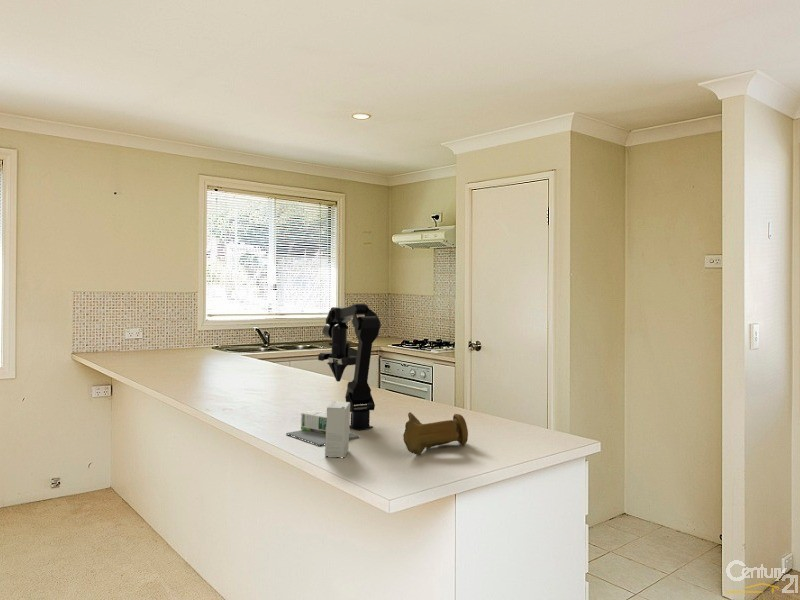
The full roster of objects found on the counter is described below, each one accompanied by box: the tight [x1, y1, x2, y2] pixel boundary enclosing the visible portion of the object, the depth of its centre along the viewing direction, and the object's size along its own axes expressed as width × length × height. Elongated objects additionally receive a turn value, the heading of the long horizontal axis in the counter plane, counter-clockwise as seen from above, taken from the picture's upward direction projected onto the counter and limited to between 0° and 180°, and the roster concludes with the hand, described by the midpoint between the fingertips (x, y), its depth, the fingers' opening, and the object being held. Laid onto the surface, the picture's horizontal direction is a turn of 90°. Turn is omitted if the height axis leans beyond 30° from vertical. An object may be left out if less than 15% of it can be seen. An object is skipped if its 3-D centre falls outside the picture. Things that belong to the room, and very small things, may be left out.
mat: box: [285, 429, 360, 446], centre depth 192 cm, size 18×16×1 cm
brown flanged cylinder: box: [402, 411, 469, 456], centre depth 181 cm, size 18×13×22 cm
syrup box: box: [300, 409, 327, 434], centre depth 197 cm, size 6×6×14 cm
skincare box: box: [324, 400, 351, 458], centre depth 172 cm, size 8×6×15 cm
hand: (338, 381), depth 223 cm, fingers closed
